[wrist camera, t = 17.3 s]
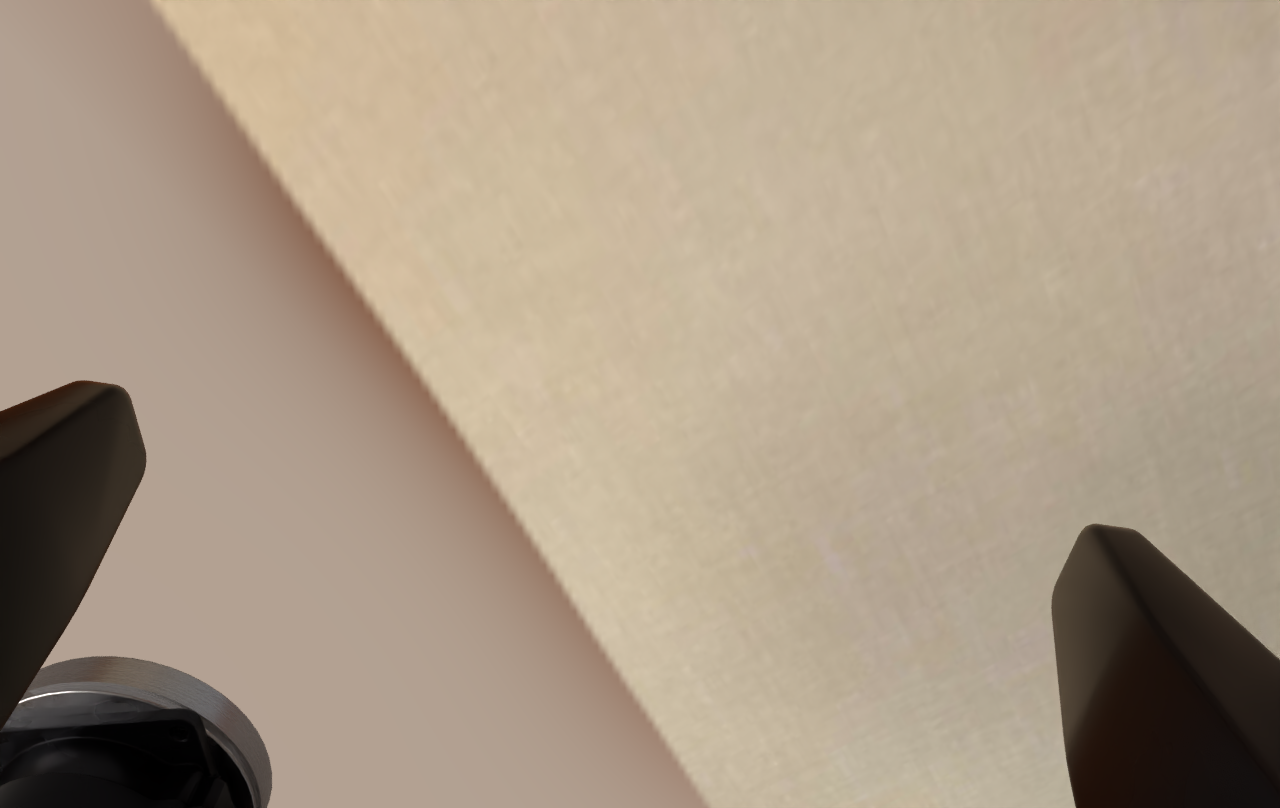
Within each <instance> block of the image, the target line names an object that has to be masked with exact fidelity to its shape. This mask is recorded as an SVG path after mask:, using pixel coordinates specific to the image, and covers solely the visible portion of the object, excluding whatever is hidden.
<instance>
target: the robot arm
mask: <svg viewBox="0 0 1280 808" xmlns="http://www.w3.org/2000/svg"><path fill="white" fill-rule="evenodd" d="M145 467H146V451H145V447H144V443H143V440H142V436H141V433H140V429H139V426H138V422H137V419H136V415H135V411H134V408H133V405H132V401H131V398H130V396H129V394H128V393H127V392H126V390H125V389H124V388H122V387H120V386H118V385H114V384H107V383H100V382H93V381H75V382H72V383H69V384H67V385H64V386H62V387H60V388H57V389H55V390H53V391H50V392H47V393H45V394H42V395H40V396H38V397H35V398H32V399H30V400H28V401H25V402H23V403H20V404H18V405H15V406H13V407H11V408H8V409H5V410H3V411H0V808H234V806H233V803H232V800H231V796H230V793H229V789H228V786H227V783H226V782H225V781H224V779H223V778H222V777H221V776H219V773H218V770H217V767H216V763H215V760H214V757H213V753H212V750H211V746H210V743H209V740H208V736H207V733H206V730H205V726H204V723H203V720H202V719H201V717H200V716H199V715H198V714H197V713H196V712H194V711H192V710H189V709H184V708H174V709H159V710H145V711H130V712H115V713H101V714H86V715H71V716H57V717H42V718H27V719H12V720H8V719H9V717H10V715H11V714H12V712H13V711H14V709H15V708H16V706H17V704H18V703H19V701H20V700H21V698H22V697H23V695H24V693H25V692H26V690H27V689H28V687H29V686H30V684H31V682H32V681H33V679H34V678H35V676H36V675H37V673H38V671H39V670H40V668H41V666H42V665H43V664H44V662H45V660H46V659H47V657H48V655H49V654H50V652H51V651H52V649H53V648H54V646H55V645H56V643H57V641H58V640H59V638H60V637H61V635H62V634H63V632H64V630H65V629H66V627H67V625H68V624H69V622H70V620H71V618H72V617H73V615H74V614H75V612H76V610H77V608H78V607H79V605H80V603H81V601H82V599H83V597H84V595H85V593H86V592H87V590H88V588H89V586H90V584H91V582H92V580H93V578H94V576H95V574H96V572H97V569H98V568H99V566H100V563H101V561H102V559H103V557H104V555H105V553H106V551H107V549H108V547H109V545H110V543H111V541H112V539H113V537H114V535H115V533H116V531H117V529H118V527H119V525H120V523H121V521H122V519H123V517H124V515H125V513H126V511H127V508H128V506H129V504H130V502H131V500H132V498H133V496H134V494H135V492H136V490H137V488H138V486H139V484H140V482H141V480H142V477H143V475H144V471H145ZM1051 608H1052V621H1053V631H1054V642H1055V652H1056V663H1057V673H1058V684H1059V694H1060V704H1061V715H1062V725H1063V736H1064V744H1065V752H1066V760H1067V766H1068V771H1069V777H1070V782H1071V787H1072V792H1073V796H1074V801H1075V806H1076V808H1280V660H1279V659H1278V658H1277V657H1276V656H1275V655H1274V654H1273V653H1272V652H1271V651H1269V650H1268V649H1267V648H1266V647H1265V646H1264V645H1263V644H1262V643H1261V642H1260V641H1258V640H1257V639H1256V638H1255V637H1254V636H1253V635H1252V634H1251V633H1250V632H1249V631H1247V630H1246V629H1245V628H1244V627H1243V626H1242V625H1241V624H1240V623H1239V622H1237V621H1236V620H1235V619H1234V618H1233V617H1232V616H1231V615H1230V614H1229V613H1228V612H1226V611H1225V610H1224V609H1223V608H1222V607H1221V606H1220V605H1219V604H1218V603H1217V602H1215V601H1214V600H1213V599H1212V598H1211V597H1210V596H1209V595H1208V594H1207V593H1206V592H1204V591H1203V590H1202V589H1201V588H1200V587H1199V586H1198V585H1197V584H1196V583H1194V582H1193V581H1192V580H1191V579H1190V578H1189V577H1188V576H1187V575H1186V574H1185V573H1183V572H1182V571H1181V570H1180V569H1179V568H1178V567H1177V566H1176V565H1175V564H1174V563H1172V562H1171V561H1170V560H1169V559H1168V558H1167V557H1166V556H1165V555H1164V554H1163V553H1161V552H1160V551H1159V550H1158V549H1157V548H1156V547H1155V546H1154V545H1153V544H1151V543H1150V542H1149V541H1148V540H1147V539H1146V538H1145V537H1144V536H1143V535H1141V534H1140V533H1139V532H1137V531H1135V530H1133V529H1129V528H1123V527H1116V526H1109V525H1102V524H1091V525H1088V526H1086V527H1085V528H1084V529H1083V530H1082V531H1081V533H1080V534H1079V536H1078V538H1077V540H1076V542H1075V544H1074V546H1073V549H1072V551H1071V553H1070V555H1069V557H1068V559H1067V561H1066V563H1065V565H1064V567H1063V569H1062V571H1061V574H1060V576H1059V578H1058V580H1057V582H1056V584H1055V587H1054V591H1053V595H1052V606H1051ZM176 726H181V727H183V728H185V729H186V730H181V729H179V728H178V727H176Z"/></svg>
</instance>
